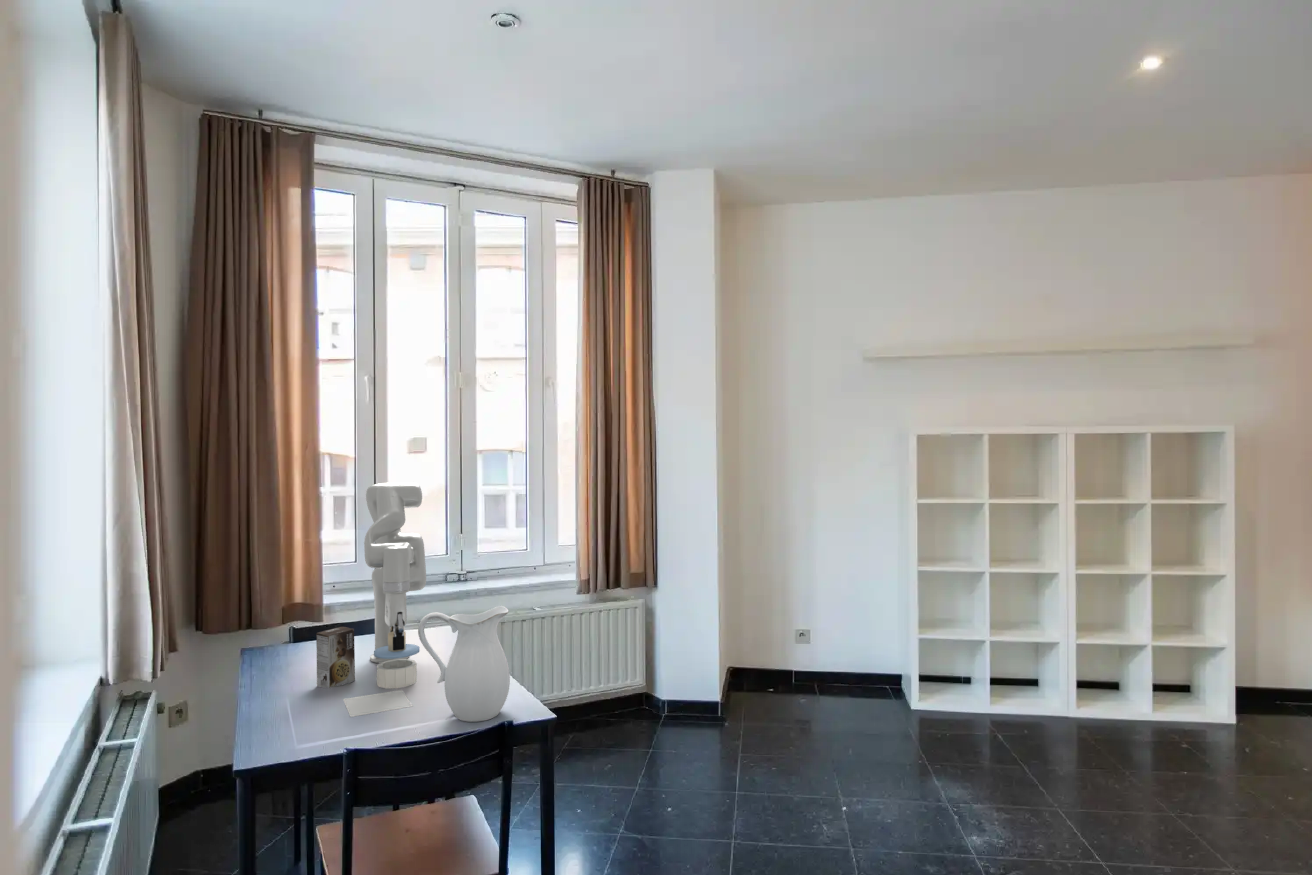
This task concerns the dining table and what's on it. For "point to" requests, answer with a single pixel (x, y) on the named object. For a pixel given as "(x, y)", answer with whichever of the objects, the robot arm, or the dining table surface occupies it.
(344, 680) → the coffee box
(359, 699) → the mat
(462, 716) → the pitcher
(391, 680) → the bowl
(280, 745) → the dining table surface
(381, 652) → the lid
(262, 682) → the dining table surface
